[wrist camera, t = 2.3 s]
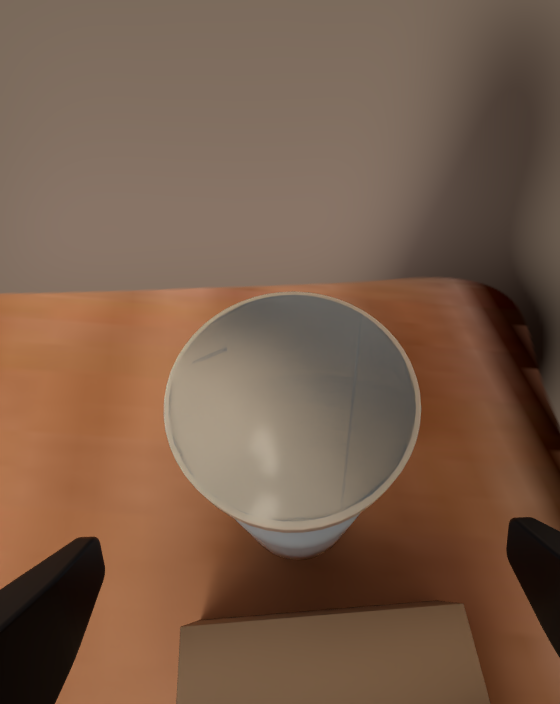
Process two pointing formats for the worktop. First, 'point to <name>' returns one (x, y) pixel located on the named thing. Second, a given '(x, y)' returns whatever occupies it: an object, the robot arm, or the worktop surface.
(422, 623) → the base block
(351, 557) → the worktop surface
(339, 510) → the canister
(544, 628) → the robot arm
